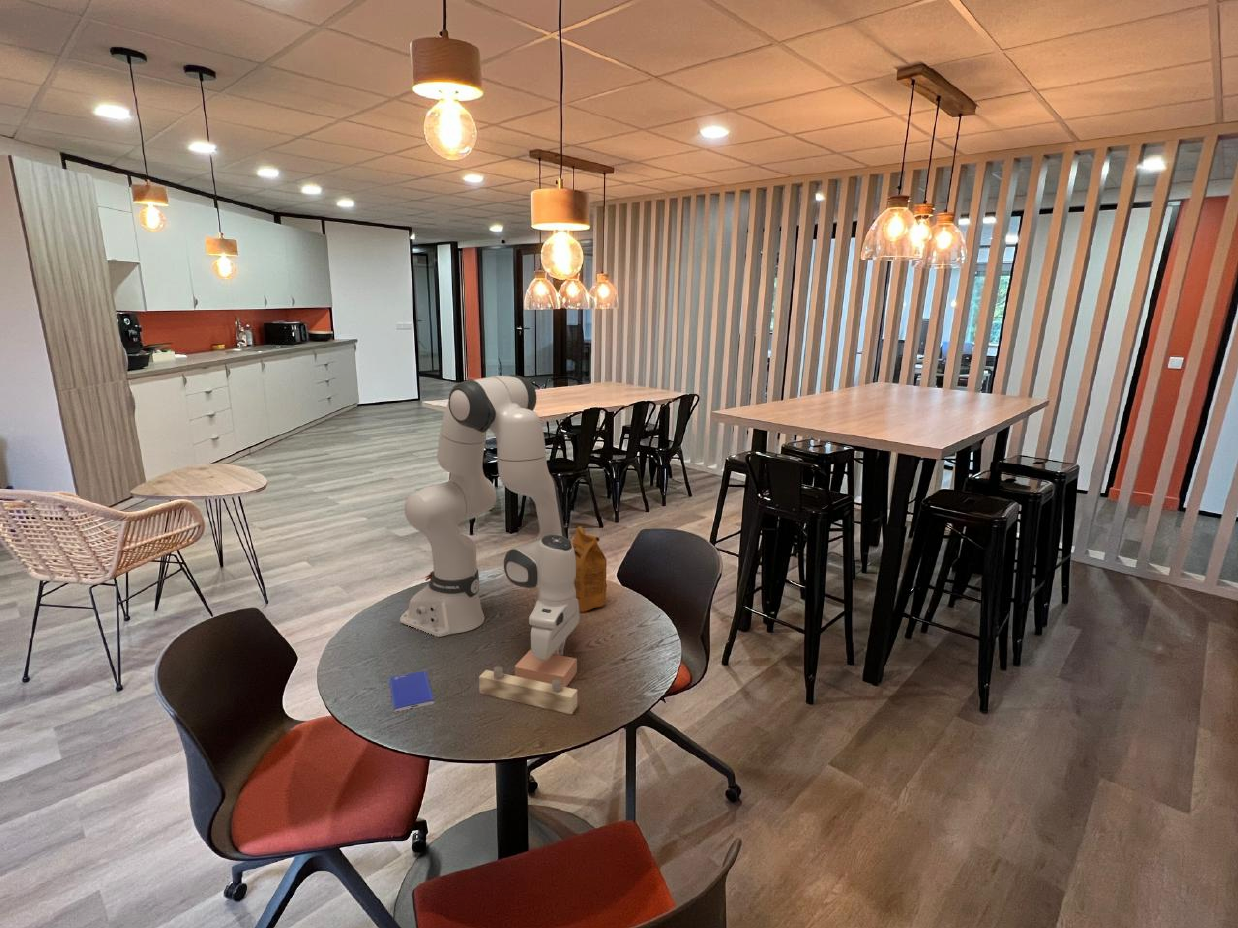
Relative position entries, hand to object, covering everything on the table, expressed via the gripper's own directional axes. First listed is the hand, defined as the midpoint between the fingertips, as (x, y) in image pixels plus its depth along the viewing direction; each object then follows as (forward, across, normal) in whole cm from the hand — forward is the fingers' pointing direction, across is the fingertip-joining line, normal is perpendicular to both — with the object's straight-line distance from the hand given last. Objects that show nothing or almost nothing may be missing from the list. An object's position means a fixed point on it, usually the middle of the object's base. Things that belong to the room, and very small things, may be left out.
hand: (557, 657), depth 150 cm
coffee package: (+2, -33, -6) cm, 34 cm away
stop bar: (+2, +15, 0) cm, 15 cm away
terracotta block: (+2, +6, 0) cm, 6 cm away
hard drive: (+2, +21, -26) cm, 33 cm away
